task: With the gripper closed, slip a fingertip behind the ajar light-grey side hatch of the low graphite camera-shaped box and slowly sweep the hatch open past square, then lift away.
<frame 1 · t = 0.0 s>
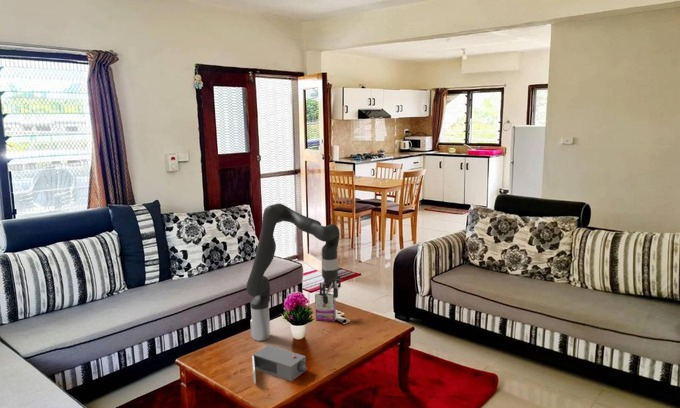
hand: (330, 300, 226), 29 cm above the table, fingers open, 8 cm apart
camera box: (279, 369, 222), on the table
candy bar box: (326, 319, 276), on the table
side door: (253, 368, 215), point 4 cm above the table, hinge at 45.0°
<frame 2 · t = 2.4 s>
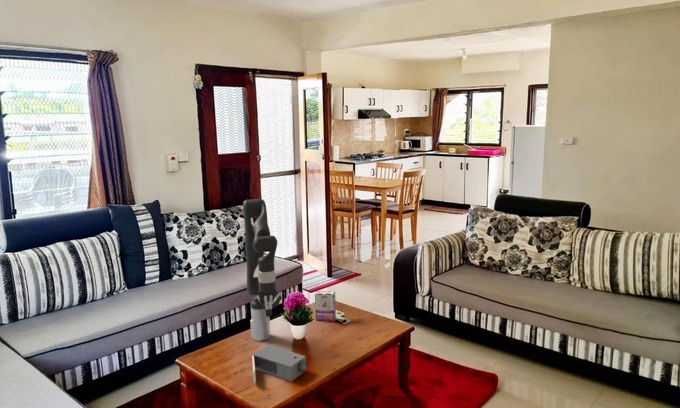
hand: (269, 316, 218), 26 cm above the table, fingers closed
nothing on the table moved.
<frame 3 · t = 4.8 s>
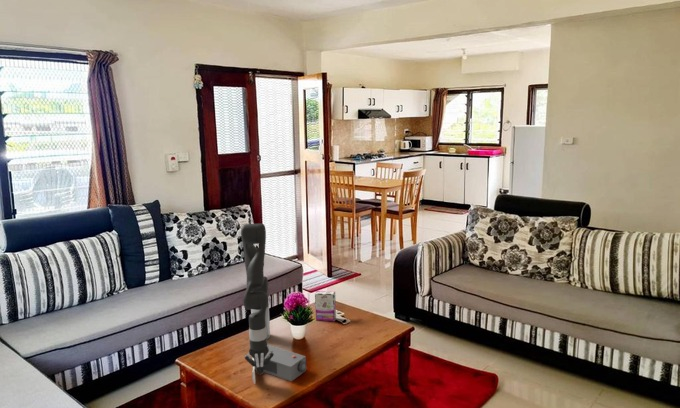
hand: (260, 373, 211), 4 cm above the table, fingers closed
side door: (253, 368, 215), point 4 cm above the table, hinge at 45.6°, touching gripper
everything else where it was.
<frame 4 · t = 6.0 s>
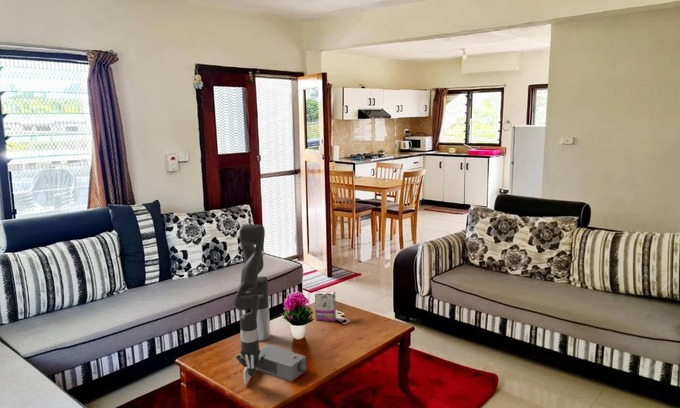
hand: (252, 375, 210), 4 cm above the table, fingers closed
side door: (248, 369, 215), point 4 cm above the table, hinge at 62.6°, touching gripper
everything else where it was.
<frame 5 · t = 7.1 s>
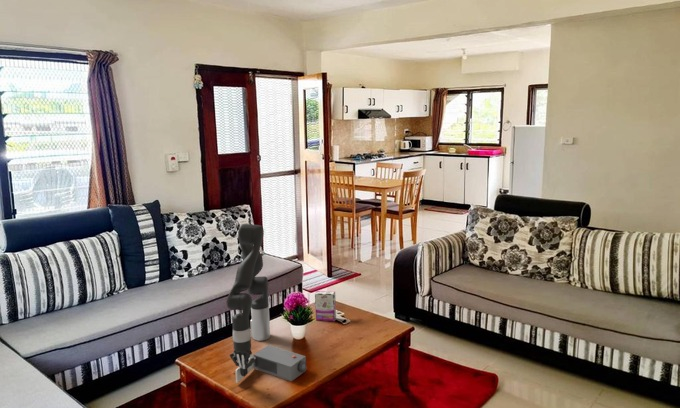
hand: (244, 375, 210), 4 cm above the table, fingers closed
side door: (245, 368, 216), point 4 cm above the table, hinge at 78.6°, touching gripper
everything else where it was.
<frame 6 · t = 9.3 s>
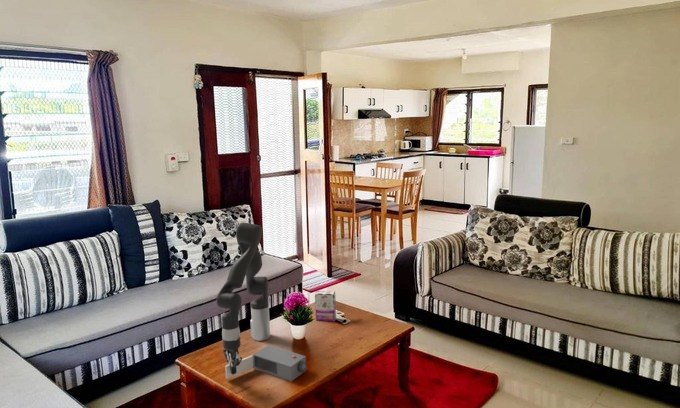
hand: (233, 373, 212), 4 cm above the table, fingers closed
side door: (240, 366, 218), point 4 cm above the table, hinge at 105.3°, touching gripper
everything else where it was.
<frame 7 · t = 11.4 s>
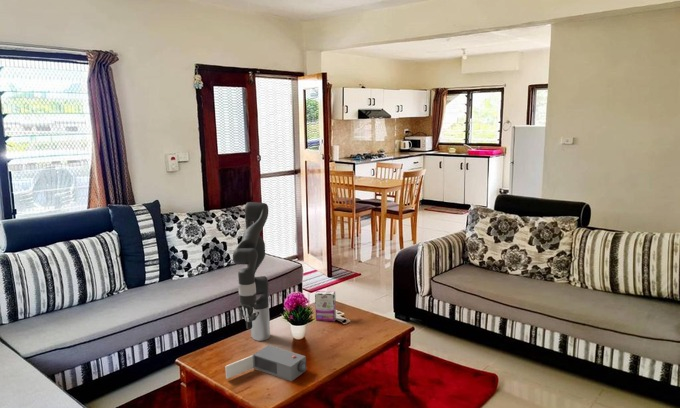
hand: (249, 328, 216), 22 cm above the table, fingers closed
side door: (240, 366, 218), point 4 cm above the table, hinge at 105.3°
everything else where it was.
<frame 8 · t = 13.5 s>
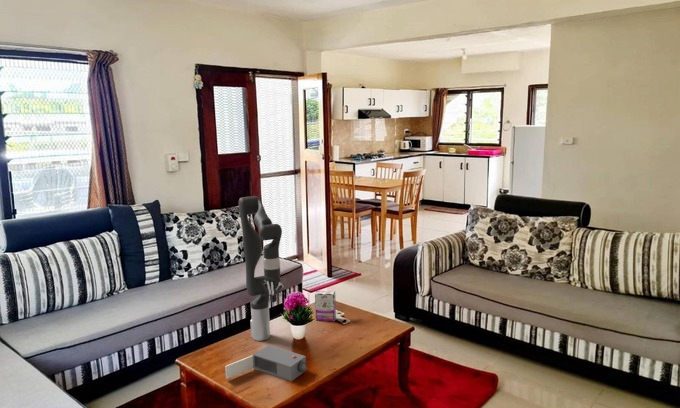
hand: (273, 301, 227), 29 cm above the table, fingers closed
nothing on the table moved.
at the end: side door at +105° (first picture: +45°) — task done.
